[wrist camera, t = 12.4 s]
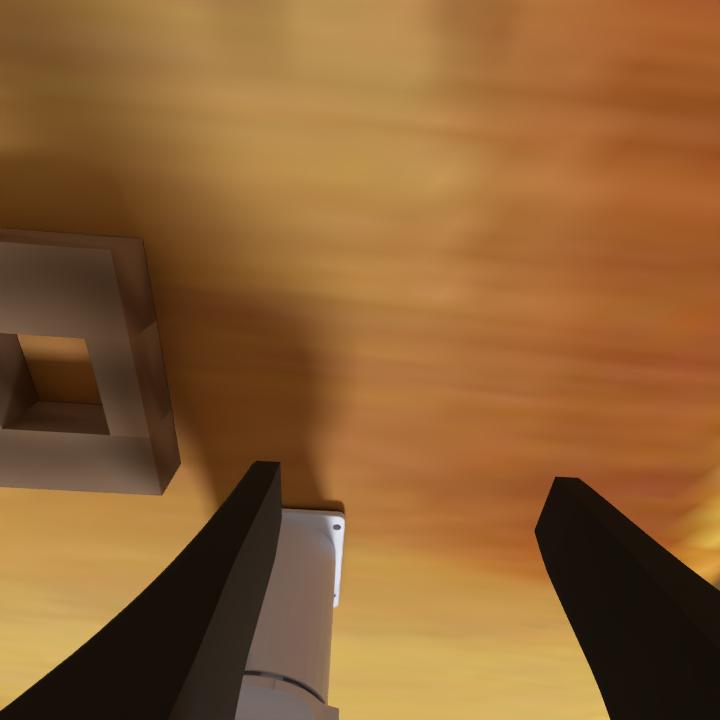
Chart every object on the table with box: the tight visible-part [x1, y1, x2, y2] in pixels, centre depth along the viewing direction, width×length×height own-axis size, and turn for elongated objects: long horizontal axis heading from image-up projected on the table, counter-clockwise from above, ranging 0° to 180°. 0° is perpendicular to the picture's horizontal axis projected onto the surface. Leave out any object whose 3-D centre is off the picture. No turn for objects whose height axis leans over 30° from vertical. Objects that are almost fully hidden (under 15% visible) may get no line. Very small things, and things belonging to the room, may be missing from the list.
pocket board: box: [0, 228, 181, 496], centre depth 19 cm, size 13×9×2 cm
